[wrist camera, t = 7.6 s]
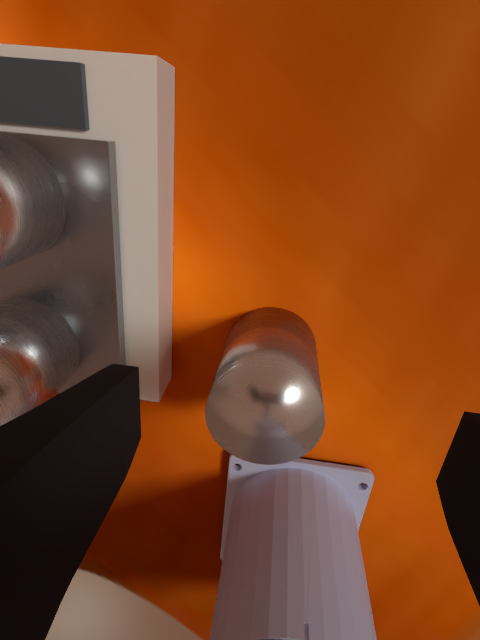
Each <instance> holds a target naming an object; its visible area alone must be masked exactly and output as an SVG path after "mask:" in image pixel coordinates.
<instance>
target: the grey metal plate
mask: <svg viewBox="0 0 480 640" xmlns="http://www.w3.org/2000/svg"><path fill="white" fill-rule="evenodd" d="M0 134H4V135H9V136H12V137H15V138H17V139H20V140H22V141H23V142H25V143H27V144H29V145H30V146H31V147H33V148H34V149H35V150H37V151H38V152H39V153H40V154H41V155H42V156H43V157H44V158H45V159H46V160H47V162H48V163H49V164H50V166H51V167H52V168H53V170H54V172H55V173H56V175H57V177H58V179H59V181H60V184H61V186H62V189H63V192H64V197H65V203H66V218H65V224H64V227H63V230H62V232H61V234H60V236H59V238H58V239H57V241H56V242H55V243H54V244H53V245H52V246H51V247H50V248H49V249H47V250H46V251H44V252H42V253H40V254H38V255H35V256H33V257H30V258H28V259H25V260H23V261H20V262H18V263H15V264H13V265H10V266H8V267H6V268H3V269H1V270H0V302H1V301H3V300H5V299H9V298H16V297H21V298H29V299H33V300H36V301H39V302H41V303H44V304H46V305H47V306H49V307H51V308H52V309H54V310H55V311H57V312H58V313H59V314H60V315H61V316H62V317H63V318H64V319H65V320H66V321H67V322H68V323H69V325H70V326H71V328H72V329H73V331H74V333H75V335H76V337H77V339H78V343H79V347H80V362H79V365H78V368H77V370H76V371H75V373H74V374H73V375H72V376H71V378H70V379H69V380H68V381H67V382H66V383H65V384H64V385H63V386H62V387H61V388H60V389H59V390H58V391H57V393H62V392H63V391H65V390H67V389H69V388H70V387H72V386H74V385H76V384H77V383H79V382H81V381H82V380H84V379H86V378H88V377H89V376H91V375H93V374H94V373H96V372H98V371H100V370H102V369H103V368H105V367H107V366H109V365H111V364H120V365H126V357H125V336H124V315H123V294H122V273H121V252H120V231H119V210H118V189H117V168H116V147H115V142H114V141H103V140H93V139H82V138H72V137H61V136H50V135H40V134H29V133H19V132H8V131H0Z"/></svg>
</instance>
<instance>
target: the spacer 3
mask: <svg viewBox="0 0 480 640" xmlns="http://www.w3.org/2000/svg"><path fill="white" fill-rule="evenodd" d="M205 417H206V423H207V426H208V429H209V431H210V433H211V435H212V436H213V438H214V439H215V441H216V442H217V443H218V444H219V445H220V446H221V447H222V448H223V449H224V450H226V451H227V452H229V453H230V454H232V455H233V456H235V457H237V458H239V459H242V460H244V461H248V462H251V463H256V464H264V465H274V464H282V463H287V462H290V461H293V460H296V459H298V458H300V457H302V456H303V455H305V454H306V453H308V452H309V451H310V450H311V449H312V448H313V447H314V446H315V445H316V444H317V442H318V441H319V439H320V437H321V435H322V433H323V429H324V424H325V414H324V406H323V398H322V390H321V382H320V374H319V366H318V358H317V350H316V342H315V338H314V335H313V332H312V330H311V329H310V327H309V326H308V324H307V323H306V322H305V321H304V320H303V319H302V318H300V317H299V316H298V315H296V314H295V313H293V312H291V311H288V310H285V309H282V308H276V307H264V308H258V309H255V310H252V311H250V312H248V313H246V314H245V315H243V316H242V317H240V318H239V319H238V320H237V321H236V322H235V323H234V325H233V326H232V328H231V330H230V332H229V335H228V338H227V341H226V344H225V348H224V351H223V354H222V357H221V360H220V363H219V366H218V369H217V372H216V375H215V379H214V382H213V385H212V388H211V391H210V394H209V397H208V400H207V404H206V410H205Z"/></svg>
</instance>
